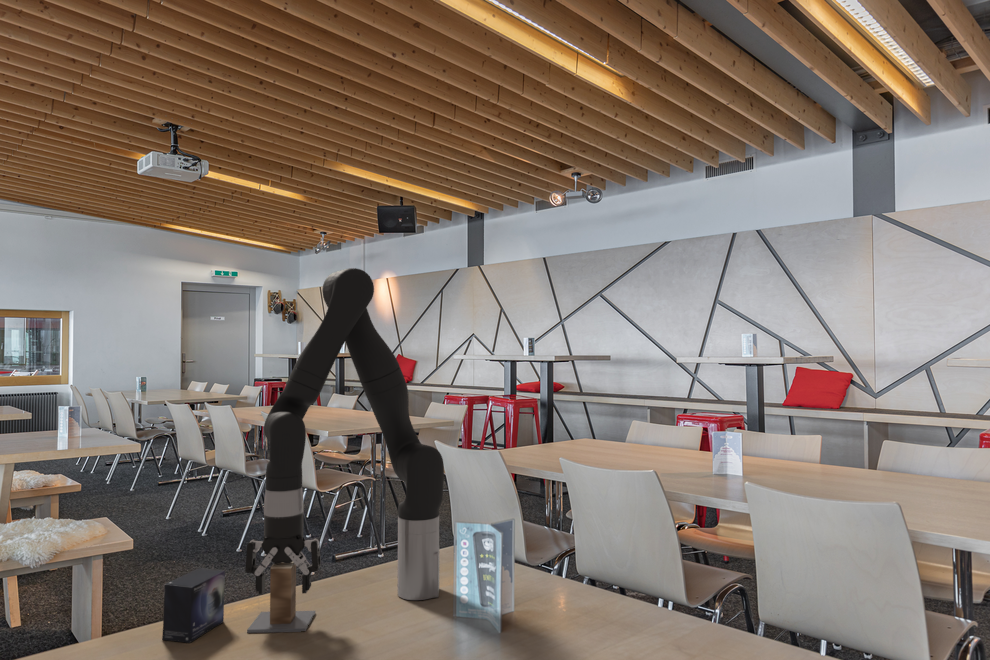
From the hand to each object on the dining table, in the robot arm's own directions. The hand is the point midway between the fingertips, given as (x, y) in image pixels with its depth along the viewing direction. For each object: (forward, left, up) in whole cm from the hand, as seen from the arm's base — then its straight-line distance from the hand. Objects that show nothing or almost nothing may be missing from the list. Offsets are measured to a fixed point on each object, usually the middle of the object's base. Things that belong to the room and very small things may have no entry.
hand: (283, 592), depth 132 cm
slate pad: (0, 0, -6) cm, 6 cm away
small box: (+16, +3, -6) cm, 17 cm away
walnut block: (0, 0, -5) cm, 5 cm away
